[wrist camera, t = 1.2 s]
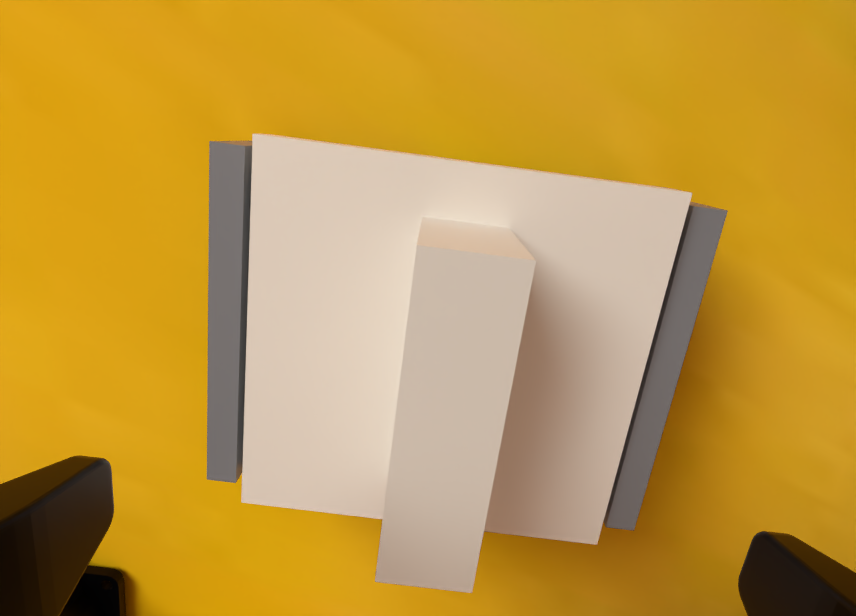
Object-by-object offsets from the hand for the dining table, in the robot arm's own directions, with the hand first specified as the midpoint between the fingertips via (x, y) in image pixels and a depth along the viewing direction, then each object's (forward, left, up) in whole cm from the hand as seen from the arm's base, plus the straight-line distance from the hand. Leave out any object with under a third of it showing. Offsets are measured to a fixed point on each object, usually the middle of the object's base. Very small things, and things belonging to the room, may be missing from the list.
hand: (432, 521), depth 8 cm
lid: (0, 0, -7) cm, 7 cm away
